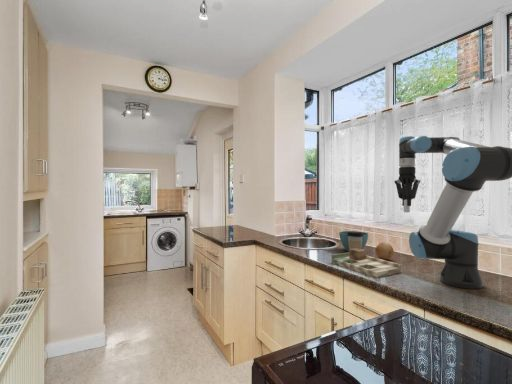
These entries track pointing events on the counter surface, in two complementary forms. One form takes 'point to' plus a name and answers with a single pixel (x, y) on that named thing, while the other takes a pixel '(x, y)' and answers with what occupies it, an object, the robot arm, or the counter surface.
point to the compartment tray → (367, 265)
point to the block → (357, 254)
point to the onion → (384, 251)
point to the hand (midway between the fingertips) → (406, 212)
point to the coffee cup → (355, 239)
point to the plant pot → (345, 239)
